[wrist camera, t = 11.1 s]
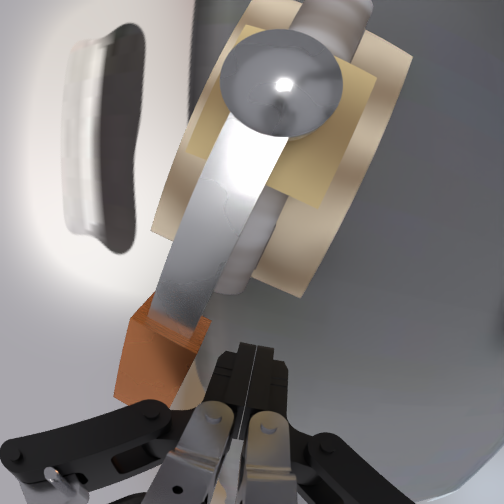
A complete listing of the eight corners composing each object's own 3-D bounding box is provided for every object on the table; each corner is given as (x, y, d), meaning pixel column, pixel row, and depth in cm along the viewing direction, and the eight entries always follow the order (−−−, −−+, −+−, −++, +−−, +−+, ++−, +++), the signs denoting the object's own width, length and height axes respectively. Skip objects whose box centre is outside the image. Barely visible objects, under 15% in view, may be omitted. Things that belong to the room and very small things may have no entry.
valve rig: (259, 0, 14) (238, -91, 4) (405, 62, 15) (483, 8, 4) (158, 226, 21) (68, 281, 11) (299, 289, 21) (307, 393, 11)
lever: (346, 79, 7) (362, 58, 5) (181, 395, 12) (168, 425, 10) (258, 40, 7) (251, 11, 5) (126, 366, 12) (107, 393, 10)
